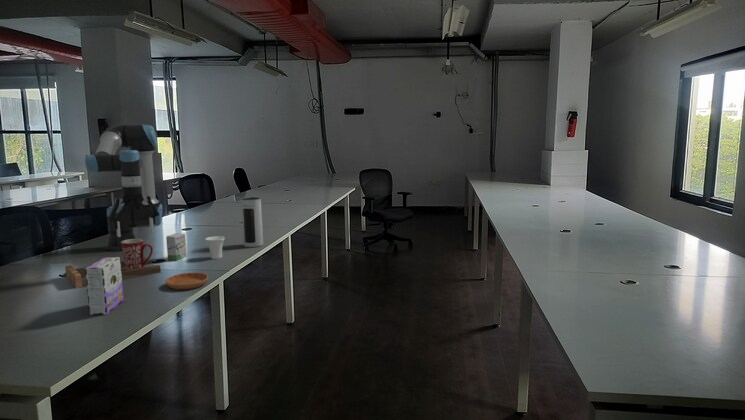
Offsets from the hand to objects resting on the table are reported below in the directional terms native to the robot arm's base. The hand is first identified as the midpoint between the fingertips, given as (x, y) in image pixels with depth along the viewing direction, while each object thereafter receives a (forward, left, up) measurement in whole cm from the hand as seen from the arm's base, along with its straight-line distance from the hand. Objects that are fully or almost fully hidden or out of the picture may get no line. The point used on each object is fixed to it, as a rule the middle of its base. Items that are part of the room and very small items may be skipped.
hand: (135, 234), depth 210 cm
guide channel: (0, -9, -16) cm, 19 cm away
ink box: (-9, +20, -17) cm, 28 cm away
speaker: (-9, +61, -17) cm, 64 cm away
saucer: (+35, +8, -17) cm, 40 cm away
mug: (0, 0, -17) cm, 17 cm away
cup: (+2, +35, -17) cm, 39 cm away
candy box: (+42, -23, -17) cm, 51 cm away
